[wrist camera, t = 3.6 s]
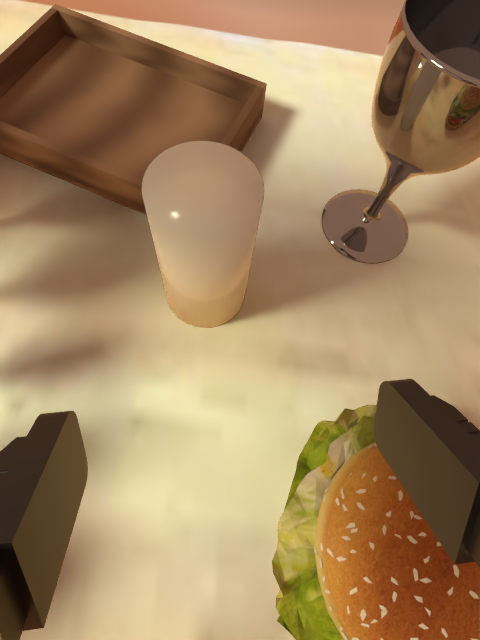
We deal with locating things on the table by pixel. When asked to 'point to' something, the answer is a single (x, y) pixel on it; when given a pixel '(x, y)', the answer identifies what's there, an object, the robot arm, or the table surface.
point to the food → (364, 549)
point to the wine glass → (414, 121)
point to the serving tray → (113, 103)
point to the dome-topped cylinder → (203, 227)
